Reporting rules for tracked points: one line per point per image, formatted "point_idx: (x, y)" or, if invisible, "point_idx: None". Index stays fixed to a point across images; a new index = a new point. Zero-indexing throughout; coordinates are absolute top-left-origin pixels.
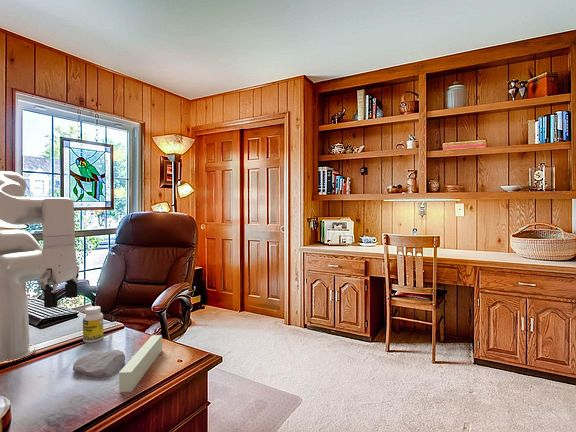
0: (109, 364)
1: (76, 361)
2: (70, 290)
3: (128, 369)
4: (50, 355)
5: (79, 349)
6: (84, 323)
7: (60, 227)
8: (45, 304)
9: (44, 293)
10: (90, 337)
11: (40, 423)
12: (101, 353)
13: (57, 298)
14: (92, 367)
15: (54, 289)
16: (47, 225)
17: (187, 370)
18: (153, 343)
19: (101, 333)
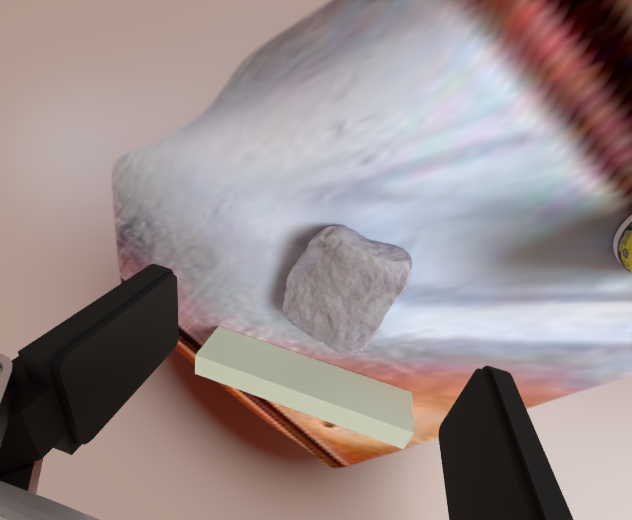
0: (293, 323)
1: (339, 241)
2: (474, 473)
3: (207, 370)
4: (546, 90)
5: (552, 200)
6: None
7: None
8: (139, 283)
9: (26, 355)
10: (629, 240)
11: (124, 211)
12: (364, 305)
13: (127, 395)
14: (298, 284)
15: (11, 476)
16: None
17: (281, 424)
18: (345, 425)
19: None
